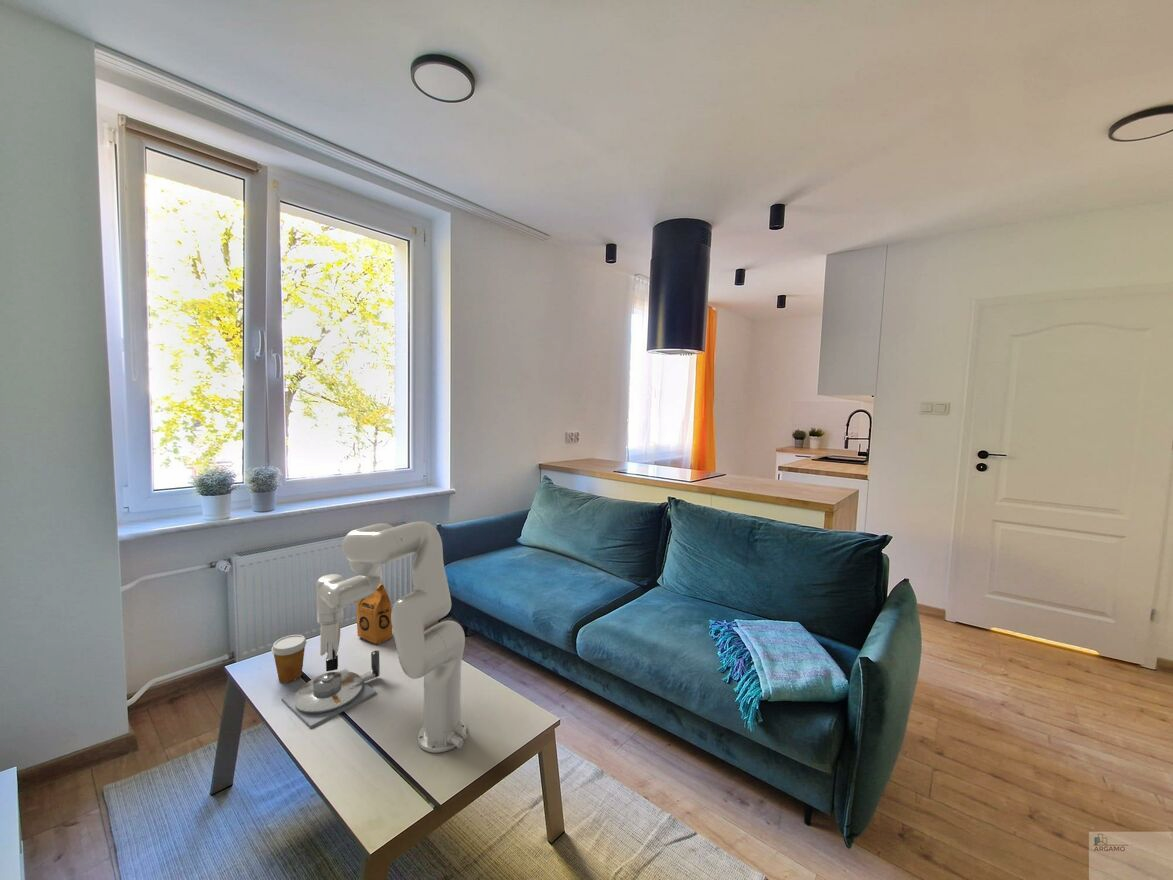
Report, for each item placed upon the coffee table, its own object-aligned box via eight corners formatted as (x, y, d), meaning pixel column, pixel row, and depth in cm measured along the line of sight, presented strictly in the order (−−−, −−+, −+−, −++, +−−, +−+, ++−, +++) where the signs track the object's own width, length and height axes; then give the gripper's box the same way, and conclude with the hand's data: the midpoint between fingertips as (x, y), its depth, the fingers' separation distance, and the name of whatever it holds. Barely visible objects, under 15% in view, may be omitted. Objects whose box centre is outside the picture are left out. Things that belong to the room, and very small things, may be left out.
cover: (346, 689, 140) (346, 675, 139) (320, 701, 134) (319, 687, 133) (334, 679, 144) (334, 666, 144) (308, 691, 138) (308, 677, 138)
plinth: (376, 693, 142) (376, 691, 142) (310, 728, 127) (310, 725, 126) (345, 670, 153) (345, 668, 153) (281, 700, 138) (281, 697, 138)
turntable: (303, 722, 127) (302, 696, 126) (288, 691, 140) (287, 667, 139) (390, 686, 144) (390, 663, 143) (369, 662, 156) (369, 640, 156)
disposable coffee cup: (314, 669, 153) (313, 635, 152) (293, 687, 144) (292, 650, 143) (287, 667, 154) (286, 632, 153) (265, 684, 145) (263, 648, 144)
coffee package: (373, 648, 167) (372, 590, 165) (353, 638, 173) (352, 581, 171) (397, 636, 175) (396, 581, 173) (377, 627, 182) (377, 573, 180)
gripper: (320, 606, 151) (321, 659, 153) (314, 627, 137) (315, 685, 139) (345, 602, 154) (346, 654, 156) (342, 623, 140) (343, 679, 142)
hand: (332, 669), depth 147 cm, fingers closed
